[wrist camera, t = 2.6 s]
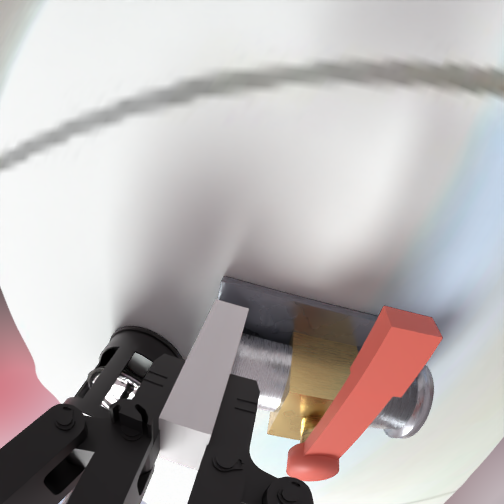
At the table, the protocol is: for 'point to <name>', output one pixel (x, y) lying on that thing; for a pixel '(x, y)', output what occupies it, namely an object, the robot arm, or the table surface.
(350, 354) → the valve body
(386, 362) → the lever
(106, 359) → the french press
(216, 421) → the robot arm
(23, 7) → the table surface
